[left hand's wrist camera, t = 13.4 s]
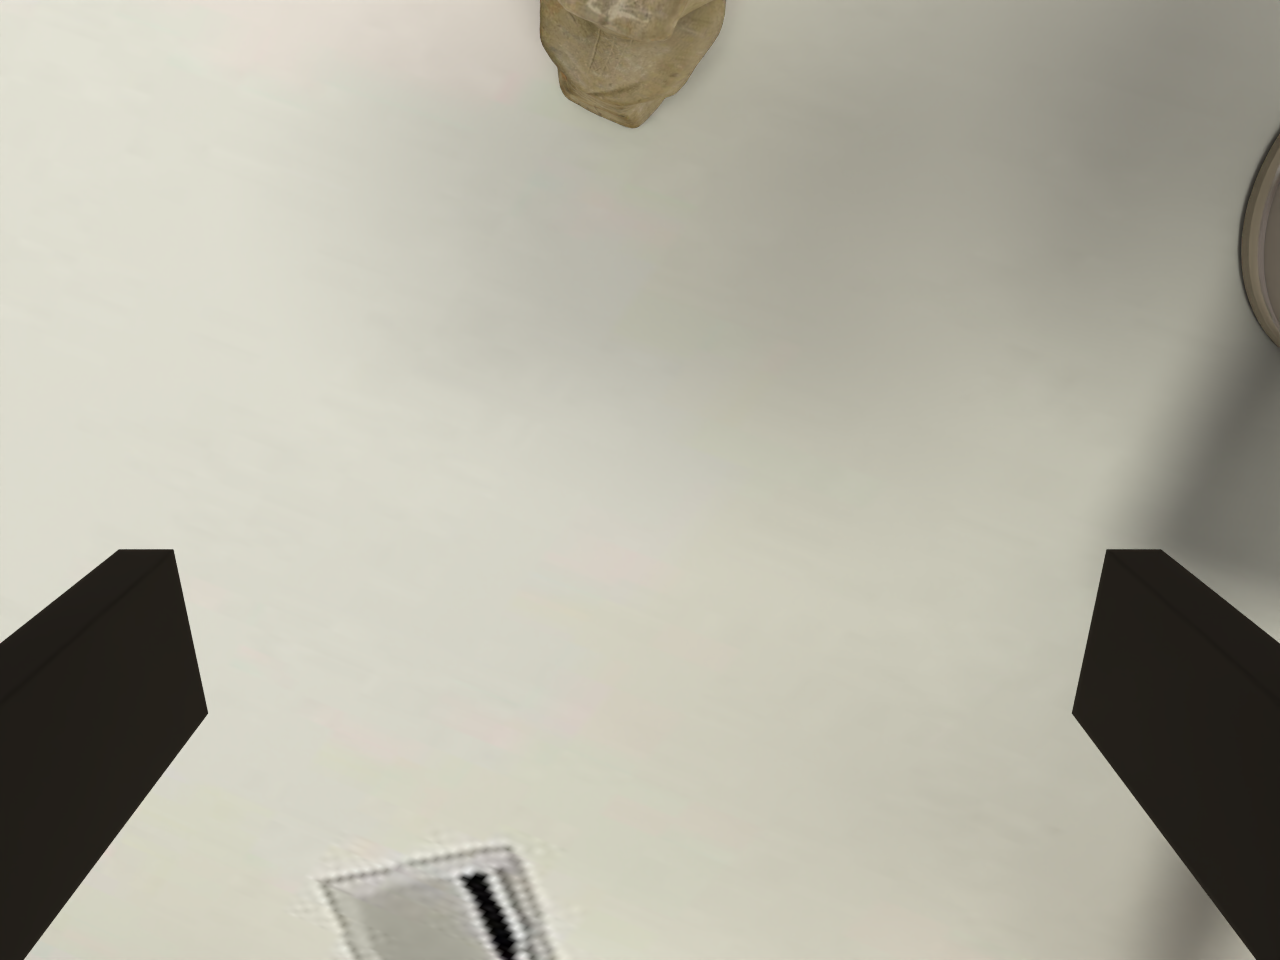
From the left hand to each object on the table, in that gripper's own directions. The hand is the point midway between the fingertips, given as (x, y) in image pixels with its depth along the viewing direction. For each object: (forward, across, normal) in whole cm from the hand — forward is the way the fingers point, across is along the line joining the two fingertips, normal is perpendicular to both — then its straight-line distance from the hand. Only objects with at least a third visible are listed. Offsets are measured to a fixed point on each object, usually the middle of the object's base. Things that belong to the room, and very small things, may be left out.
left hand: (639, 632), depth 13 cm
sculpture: (+29, 0, +11) cm, 31 cm away
